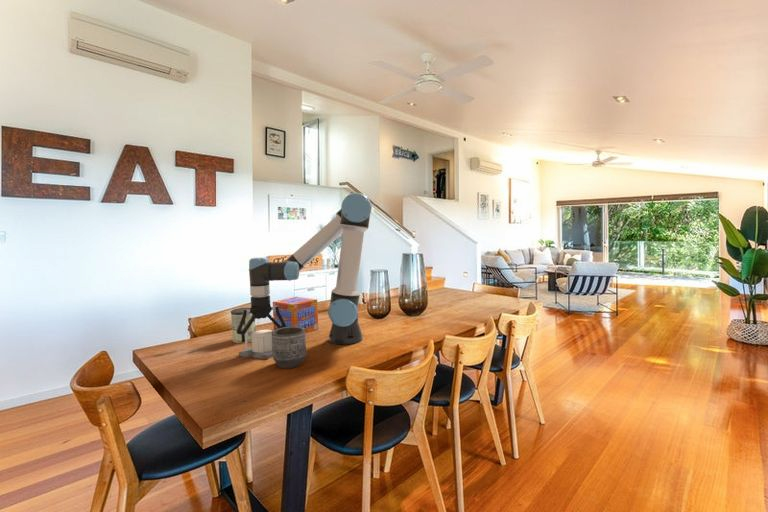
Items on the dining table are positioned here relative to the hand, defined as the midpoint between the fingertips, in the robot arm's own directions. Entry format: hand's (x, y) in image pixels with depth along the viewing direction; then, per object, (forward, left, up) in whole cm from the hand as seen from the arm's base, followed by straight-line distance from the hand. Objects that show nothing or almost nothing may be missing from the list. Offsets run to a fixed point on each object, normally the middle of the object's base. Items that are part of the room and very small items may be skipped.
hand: (262, 347), depth 152 cm
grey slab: (0, 0, -2) cm, 2 cm away
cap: (0, 0, -1) cm, 1 cm away
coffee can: (+21, -13, -2) cm, 25 cm away
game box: (+6, -33, -2) cm, 34 cm away
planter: (-19, +8, -2) cm, 21 cm away
